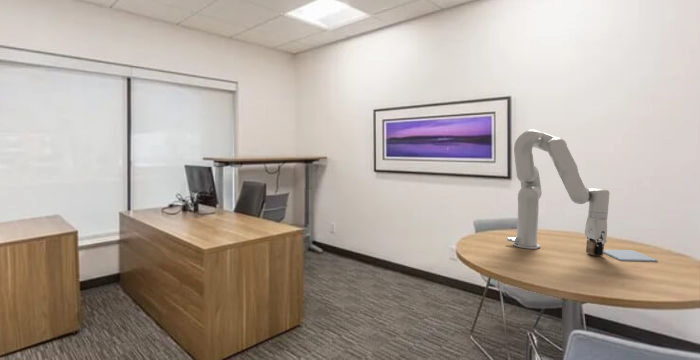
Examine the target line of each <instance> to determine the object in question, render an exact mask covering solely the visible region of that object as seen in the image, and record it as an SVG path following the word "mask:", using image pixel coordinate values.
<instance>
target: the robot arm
mask: <svg viewBox="0 0 700 360" xmlns="http://www.w3.org/2000/svg"><path fill="white" fill-rule="evenodd" d="M533 148H536V149H539V150H542V151H544V152H547V153H548V155H549V157H550V158H551V160H552V163H553V165H554V166H555V169H556V171H557V173H558V175H559V177H560V179H561V182H562V184H563V186H564V188H565V190H566V192H567V194H568V196H569V199H570V200H571V202H573V203H574V204H576V205H584V204H586V203H589V204H588V212H587V213H588V214H587V219H586V222H585V228H584V236H585V237H586V239H587V240H596V246H595V251H594V254H595V255H594V256H599V255H602V249H603V246H604V247H605V244H607V238H608V237H607V236H608V213H609V203H610V191H609V190H608V189H604V188H590V187H586V186H585V184H584V183H583V182H584V181H582V178H581V176H580V173H579V169H578V166H577V163H576V161H575V159H574V157H573V155H572V153H571V151H570V150H569V147H568V145H567V142H566V140H565V139H563V138H561V137H556V136H554V135H550V134H549V133H545V132H542V131H539V130H536V129H529V130H526V131H524V132H523V133H521V134H519V136H518V137H517V138H516V140H515V143H514V146H513V152H514V153H513V154H514V162H515V163H514V164H515V171H516V172H515V173H516V178H517V180H518V181H519V182H520V187H521V188H520V189H519V191H518V194H517V226H516V229H517V230H516V231H517V232H516V235H514V237H506V242H511V243H512V244H513V246H515V247H517V248H521V249H527V250H534V249H535V250H536V249H540V248H541V244H539V243H538V229H539V228H538V227H539V226H538V225H539V200H540V199H541V197H542V186H541V180H540V179H541V178H540V172H539V169H538V168H537V167H536V166H535V163H534V154H533ZM598 241H600V242H599V243H598Z"/></svg>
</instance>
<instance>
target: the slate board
mask: <svg viewBox="0 0 700 360" xmlns="http://www.w3.org/2000/svg"><path fill="white" fill-rule="evenodd" d="M604 254H605V255H607V256H609V257H610V258H611V257H612V258H614V260H618V261H620V262H648V263H649V262H652V263H653V262H655V263H658V259H655V258H653V257H650V256H648V255H646V254H643V253H641V252H638V251H635V250H633V249H630V250H629V249H604V251H603V255H604Z"/></svg>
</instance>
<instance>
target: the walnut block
mask: <svg viewBox="0 0 700 360" xmlns="http://www.w3.org/2000/svg"><path fill="white" fill-rule="evenodd" d="M599 242H601V241H598V243H599ZM595 246H596V240H588V239H587V240H586V247H585V253H587V254H588V255H590V256H596V255H595V254H594V251H595ZM604 247H605V245H604V246H603V249H602V255H598V256H602V257H603V256H604V253H603V251H604V250H605V248H604Z"/></svg>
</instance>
